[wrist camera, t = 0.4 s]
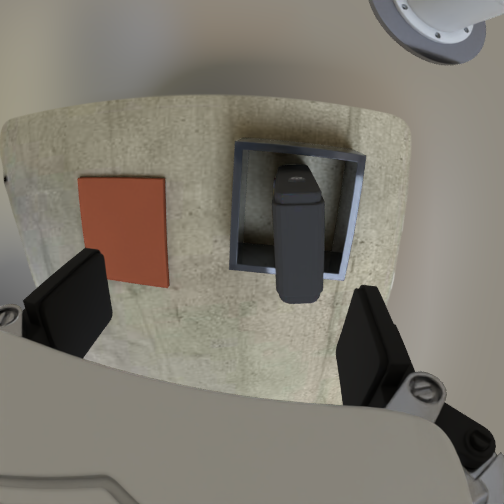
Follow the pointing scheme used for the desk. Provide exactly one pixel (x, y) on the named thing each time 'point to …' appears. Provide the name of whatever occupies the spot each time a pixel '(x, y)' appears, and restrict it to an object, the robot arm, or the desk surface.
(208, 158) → the desk surface
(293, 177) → the card reader
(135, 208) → the mat
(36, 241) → the desk surface
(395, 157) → the desk surface
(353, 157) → the grey open bin
